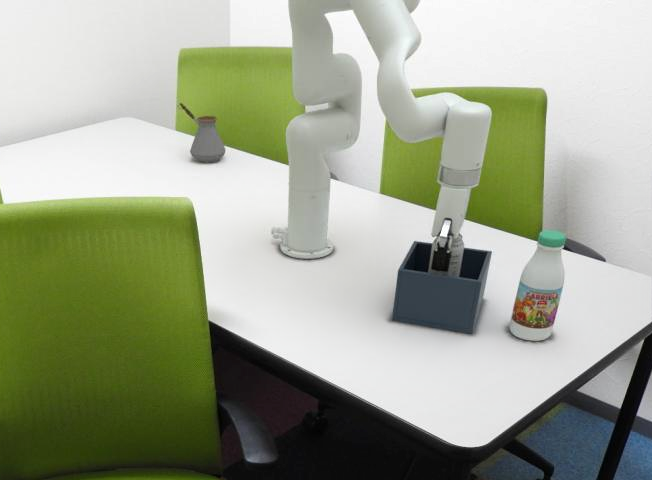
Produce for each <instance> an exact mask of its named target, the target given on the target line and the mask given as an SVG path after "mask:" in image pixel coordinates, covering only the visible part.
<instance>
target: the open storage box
mask: <svg viewBox="0 0 652 480" xmlns="http://www.w3.org/2000/svg"><path fill="white" fill-rule="evenodd" d="M432 243H433V242H426V241H420V240H414V241H413V242H412V244H411V246H410V248H409V250H408V251H407V253H406V254H405V257H404V258H403V261H402V262H401V264H400V266H399V267H398V269H397V274H396V275H397V276H396V284H395V292H394V301H393V308H392V309H393V310H392V317H391V321H394V322H398V323H404V324H411V325H416V326H422V327H428V328H435V329H439V330H444V331H450V332H458V333H463V334H468V335H472V334H473V332H474V328H475V326H476V323H477V319H478V317H479V313H480V310H481V306H482V304H483V300H484V296H485V291H486V285H487V279H488V274H489V270H490V265H491V261H492V260H491V259H492V256H493V255H492V253H493V251H492V250H485V249H478V248H470V247H464V251H463V257H462V263H461V269H460V274H459V277H454V276H447V275H440V274H433V273H428V270H429V264H430V257H431V250H432Z"/></svg>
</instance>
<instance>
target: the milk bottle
mask: <svg viewBox="0 0 652 480" xmlns="http://www.w3.org/2000/svg"><path fill="white" fill-rule="evenodd" d="M566 241H567V235H566V234H565V233H564V232H562V231H560V230H552V229H546V230H545V229H544V230H541V231H540V232H539V233H538V237H537V241H536V245H537V247H536V250H535V252H534V253H533V255H532V256H531V258H530V259H529V260H528V261H527V263H525V266H524V267H523V269H522V272H521V274H520V278H519V282H518V286H517V290H516V294H515V299H514V303H513V308H512V313H511V316H510V322H509V331H510V333H511V334H512V335H514V336H515V337H517V338H518V339H522V340H525V341H532V342H537V341H544V340H545V341H546V340H547V339H548V338H550V336H551V335H552V332H553V329H554V325H555V321H556V317H557V313H558V309H559V305H560V301H561V297H562V293H563V289H564V284H565V274H566V273H565V267H564V264H563V263H564V262H563V258H562V250H563V249H564V248H565V244H566Z"/></svg>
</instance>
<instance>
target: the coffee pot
mask: <svg viewBox="0 0 652 480" xmlns="http://www.w3.org/2000/svg"><path fill="white" fill-rule="evenodd" d="M179 106H180V108H179ZM177 109H179V110H181V109H182V110H184V112H185V113H186V114H187V115H188V116H189V117H190V119H192V120H193V121H194V122H195V124H197V125H198V127H197V130H196V132H195V136H194V138H193V140H192V143H191V147H190V149H189V153H190V155H191V157H192V158H193V159H195V161H196V162H198V163H203V164H211V163H217V162H220V160H221V159H222V158H223V157H224V156H225V154H226V148H225V145H224V142H223V140H222V138H221V136H220V133H219V131H218V129H217V126H216V122H217V120H218V117H217V116H214V115H204V116H203V115H202V116H199V117H197V118H196V117H195V116H194V114H193V113H192V112H191V111H190V109H189V108H187V106H186V105H184V103H182V102H180V103H179V104H178V105H177Z"/></svg>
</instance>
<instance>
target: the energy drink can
mask: <svg viewBox="0 0 652 480" xmlns="http://www.w3.org/2000/svg"><path fill="white" fill-rule="evenodd" d="M438 235H439V234H438ZM438 235H437V237H436V236H435V238H434V240H433V241H432V242H431V243H432V250H431V257H430V264H429V270H428V273H433V274H440V275H447V276H454V277H459V274H460V269H461V263H462V257H463V251H464V248H465V243H464V241H463V234H461V233H460V234H459V235H458V237H457V239H455V240H453V242H452V246H451V250H450V252H452V253H451V258H450V264H449V269H448V271H447V272H443V271H437V270H432V269H431V266H432V260H433V254H434V249H435V247H436V243H437V239H438ZM448 236H451V234H448ZM447 242H448V244H449V240H447Z"/></svg>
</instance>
